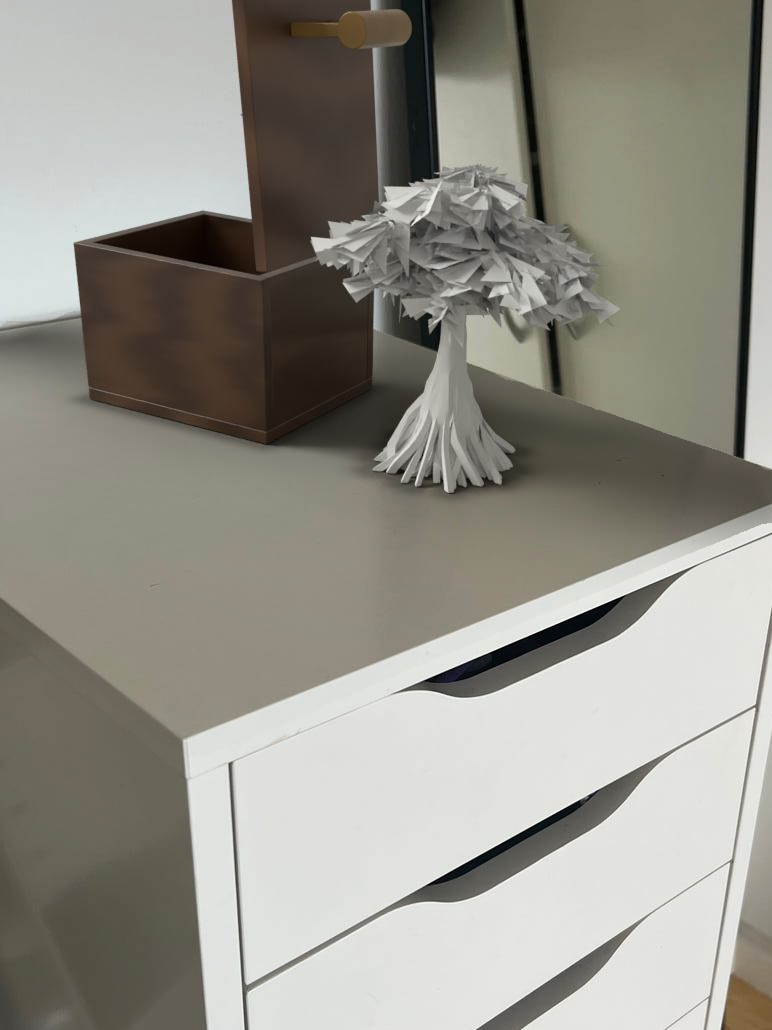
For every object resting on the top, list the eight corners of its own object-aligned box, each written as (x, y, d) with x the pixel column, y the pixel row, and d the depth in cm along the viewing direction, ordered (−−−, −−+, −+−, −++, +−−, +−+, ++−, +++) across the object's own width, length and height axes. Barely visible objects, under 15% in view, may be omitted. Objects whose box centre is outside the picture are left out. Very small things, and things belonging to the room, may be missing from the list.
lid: (228, -23, 61) (323, -24, 59) (358, -24, 71) (443, -25, 69) (255, 271, 68) (341, 280, 66) (370, 233, 78) (447, 240, 76)
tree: (612, 525, 66) (652, 209, 58) (317, 528, 64) (315, 198, 55) (546, 409, 82) (570, 146, 73) (306, 408, 79) (303, 135, 71)
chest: (89, 399, 78) (73, 242, 73) (209, 350, 88) (202, 210, 83) (266, 444, 73) (261, 280, 68) (372, 388, 83) (375, 241, 78)
